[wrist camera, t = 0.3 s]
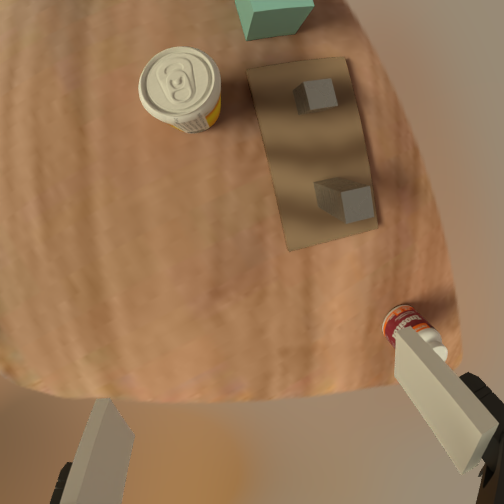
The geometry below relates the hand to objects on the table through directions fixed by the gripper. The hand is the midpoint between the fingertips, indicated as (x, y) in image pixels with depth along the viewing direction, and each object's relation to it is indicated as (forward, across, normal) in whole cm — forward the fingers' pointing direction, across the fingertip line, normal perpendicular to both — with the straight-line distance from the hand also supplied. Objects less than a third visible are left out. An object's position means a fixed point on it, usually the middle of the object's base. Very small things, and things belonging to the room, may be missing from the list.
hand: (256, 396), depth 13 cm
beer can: (+27, -1, +16) cm, 32 cm away
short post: (+26, +12, +14) cm, 32 cm away
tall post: (+26, +12, +2) cm, 29 cm away
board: (+27, +12, +8) cm, 31 cm away
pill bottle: (+27, +21, -19) cm, 40 cm away
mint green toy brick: (+27, +10, +26) cm, 39 cm away
